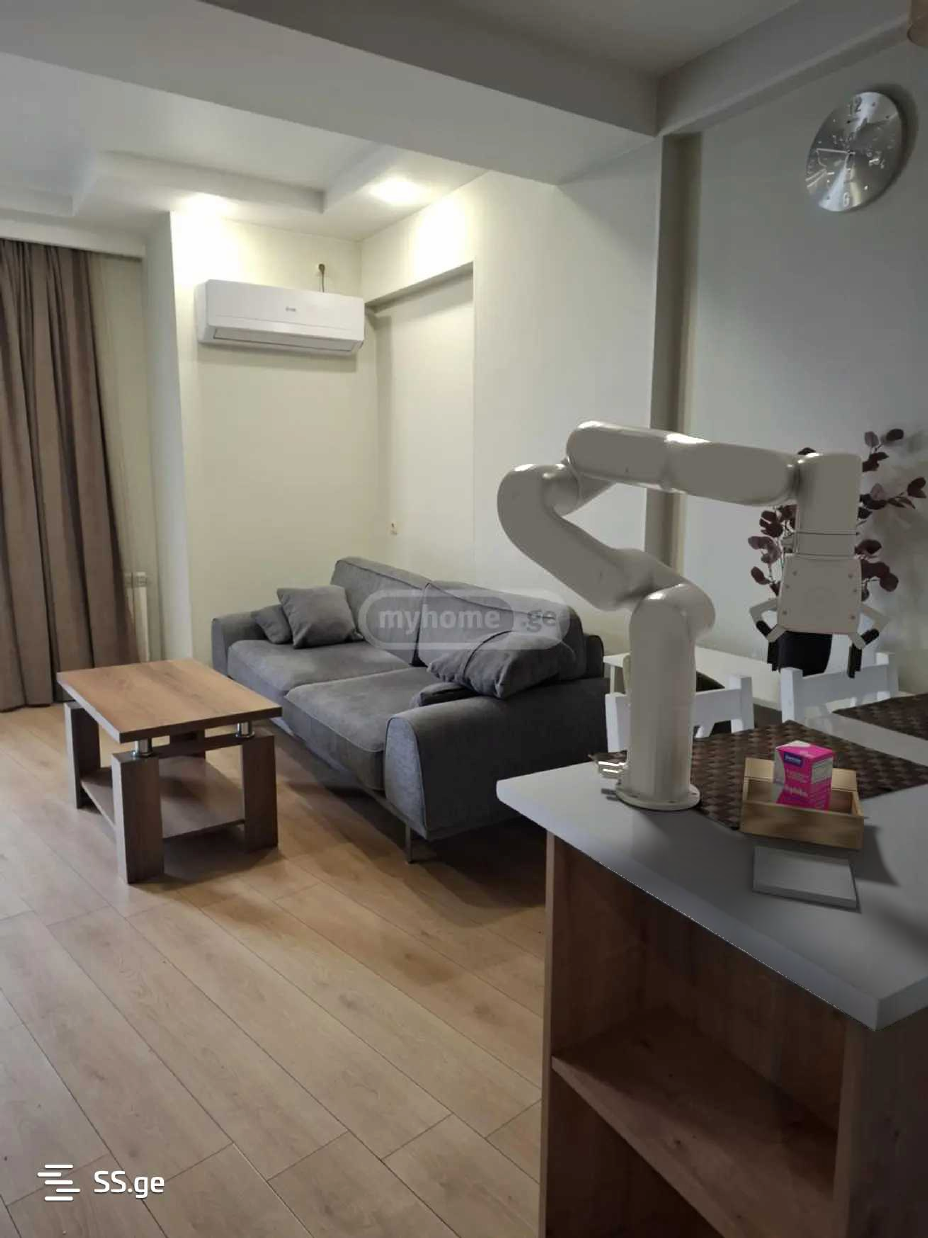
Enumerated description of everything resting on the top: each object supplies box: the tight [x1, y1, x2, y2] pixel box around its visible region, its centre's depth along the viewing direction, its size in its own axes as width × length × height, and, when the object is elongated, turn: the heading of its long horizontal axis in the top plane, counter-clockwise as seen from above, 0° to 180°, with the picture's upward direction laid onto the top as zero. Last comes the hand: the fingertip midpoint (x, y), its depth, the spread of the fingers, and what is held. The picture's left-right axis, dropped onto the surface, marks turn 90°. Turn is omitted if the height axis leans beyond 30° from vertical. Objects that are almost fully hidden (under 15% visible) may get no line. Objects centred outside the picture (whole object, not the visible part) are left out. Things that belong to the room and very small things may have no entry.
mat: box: [752, 845, 857, 910], centre depth 101 cm, size 11×11×1 cm
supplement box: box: [771, 740, 835, 811], centre depth 116 cm, size 6×6×12 cm
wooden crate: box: [739, 757, 870, 851], centre depth 116 cm, size 15×19×6 cm
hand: (811, 672), depth 113 cm, fingers open, 9 cm apart
